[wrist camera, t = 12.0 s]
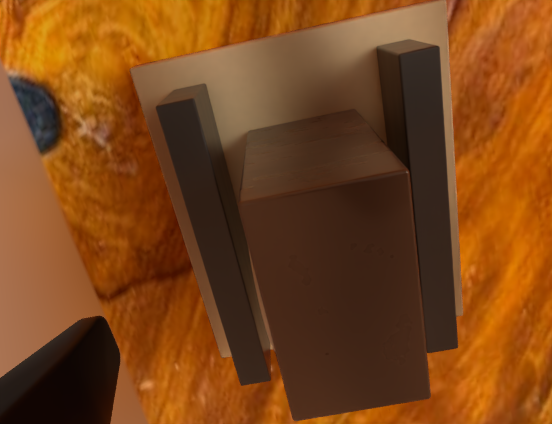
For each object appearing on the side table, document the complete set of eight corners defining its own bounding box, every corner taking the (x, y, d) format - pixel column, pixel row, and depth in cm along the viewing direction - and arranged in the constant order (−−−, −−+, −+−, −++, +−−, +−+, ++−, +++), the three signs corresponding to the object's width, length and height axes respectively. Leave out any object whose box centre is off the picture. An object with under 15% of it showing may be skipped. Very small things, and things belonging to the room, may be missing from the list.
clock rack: (222, 344, 22) (214, 411, 19) (135, 65, 17) (100, 81, 13) (455, 302, 22) (494, 363, 18) (436, -2, 16) (486, -4, 13)
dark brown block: (280, 289, 20) (288, 424, 14) (243, 131, 17) (229, 205, 11) (378, 271, 20) (432, 400, 13) (355, 107, 17) (410, 169, 11)
